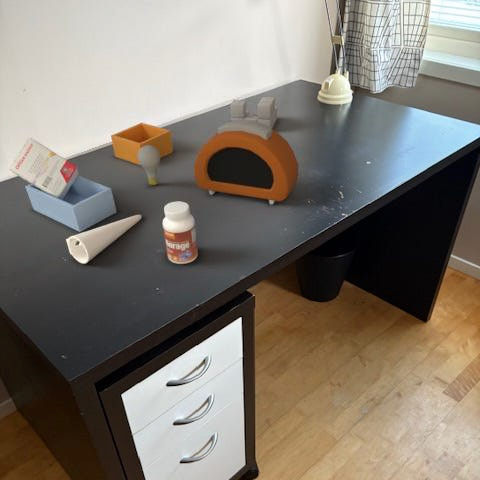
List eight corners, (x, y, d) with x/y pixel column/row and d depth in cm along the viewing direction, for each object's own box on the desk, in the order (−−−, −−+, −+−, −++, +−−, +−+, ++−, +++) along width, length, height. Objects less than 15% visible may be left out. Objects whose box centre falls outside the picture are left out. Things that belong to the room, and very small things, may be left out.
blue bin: (33, 209, 113) (25, 186, 109) (70, 192, 119) (63, 169, 115) (80, 232, 105) (72, 207, 101) (116, 212, 111) (111, 188, 107)
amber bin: (115, 156, 134) (110, 135, 130) (145, 143, 141) (141, 122, 137) (143, 166, 129) (139, 144, 125) (173, 151, 135) (170, 130, 131)
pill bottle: (163, 264, 94) (155, 214, 87) (172, 246, 99) (165, 198, 92) (194, 266, 94) (188, 216, 86) (201, 248, 98) (196, 200, 91)
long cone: (160, 232, 107) (91, 267, 94) (140, 227, 110) (71, 259, 97) (156, 208, 103) (84, 240, 91) (136, 203, 107) (64, 233, 94)
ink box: (81, 172, 111) (35, 142, 109) (77, 166, 106) (29, 135, 104) (61, 203, 111) (14, 174, 109) (56, 199, 106) (8, 168, 104)
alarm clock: (195, 193, 116) (187, 124, 105) (210, 178, 122) (204, 110, 111) (287, 208, 109) (289, 135, 98) (298, 191, 115) (301, 120, 104)
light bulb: (143, 181, 122) (136, 142, 116) (164, 179, 123) (158, 140, 116) (142, 190, 118) (134, 151, 112) (164, 189, 119) (158, 149, 112)
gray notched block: (277, 119, 152) (277, 92, 146) (270, 133, 143) (270, 105, 138) (240, 117, 154) (239, 91, 149) (231, 131, 145) (230, 104, 140)
